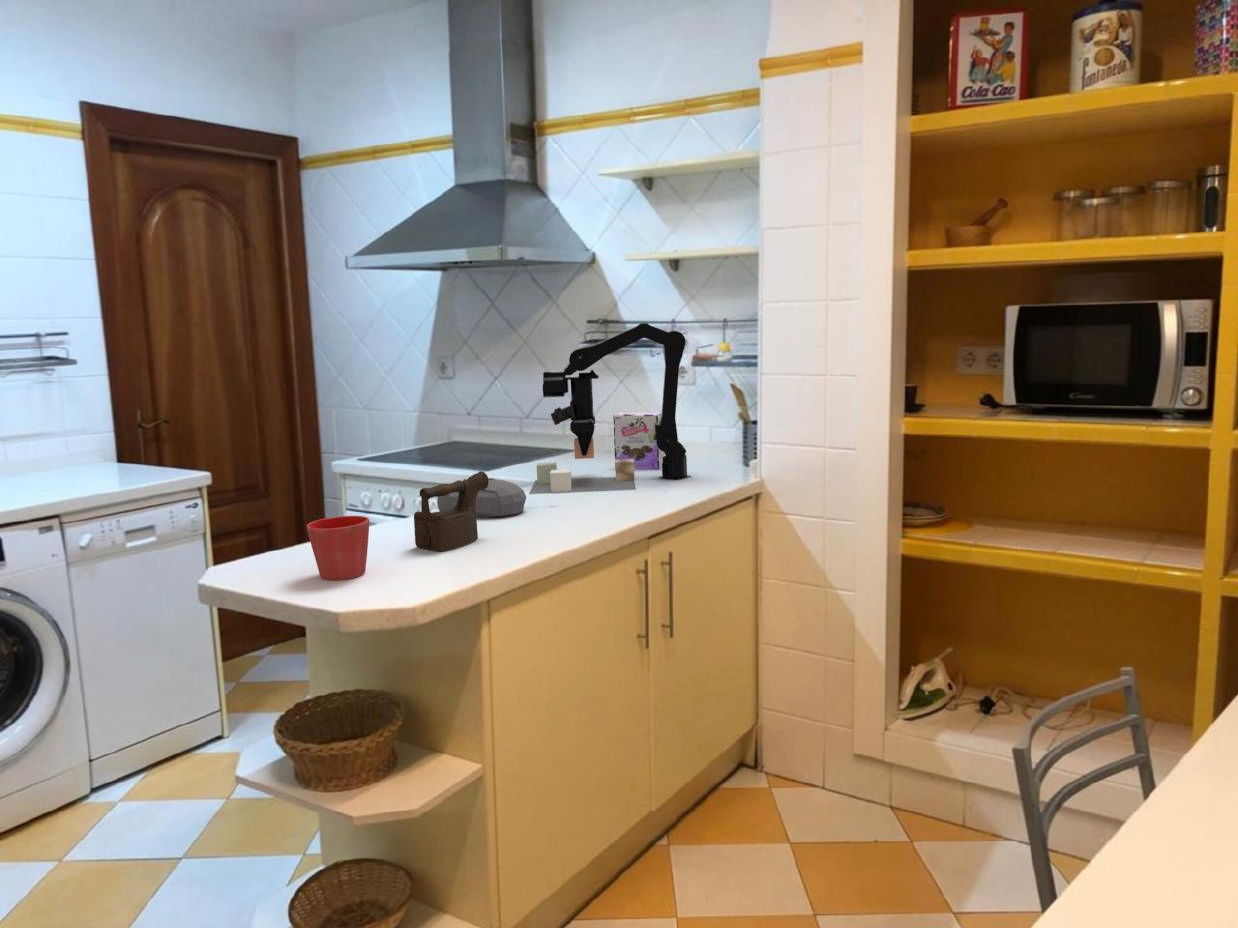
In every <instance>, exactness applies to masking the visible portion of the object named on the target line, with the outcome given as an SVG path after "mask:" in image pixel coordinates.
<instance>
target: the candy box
mask: <svg viewBox="0 0 1238 928" xmlns="http://www.w3.org/2000/svg"><path fill="white" fill-rule="evenodd" d="M661 415H662V412H618V413H614V414H613V441H614V443H613V444H614V448H613V449H614V461H615V460H624V459H634V470H643V471H644V470H649V471H652V470H653V471H660V470H662V463H663V458H662V457H664V456H666V455H665V453H664V452H663V451H661V450H660V449H659V448H658V446H657V444H656V440H654V438H653V436H654V433H655V426H654V423H659V422H660V419H661Z"/></svg>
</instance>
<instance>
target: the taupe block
mask: <svg viewBox="0 0 1238 928" xmlns="http://www.w3.org/2000/svg"><path fill="white" fill-rule="evenodd" d="M571 479H572V469H571V468H569V469H557V470H551V472H550V480H551V493H550V494H556V493H555V492H569V493H572V492H571V489H572V485H571Z"/></svg>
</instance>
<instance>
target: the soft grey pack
mask: <svg viewBox="0 0 1238 928" xmlns="http://www.w3.org/2000/svg"><path fill="white" fill-rule="evenodd" d="M466 480H467V479H466V478H465V479H463V480H462V481H464V482H465V481H466ZM488 480H489V482H488V487H487V488H486V489H485V490H480V491H479V492H478V494H477V496H476V502H475V511H476V517H488V518H496V517H497V518H498V517H507V516H512V515H515V514H520V513H522V512H523V511H524V509H525V503H526V500H527V496H526V493H525V490H524V489H523V488H521V487H520V486H519V485H518V484H516V483H513V482H510V481H507V480H504V479H496V478H491V477H490V478H489V477H488ZM458 497H459V492H453V493H450V494H448V495H445V496H439V497H437V498H436V499H437V502H436V504H437V508H438V510H439V511H445V510H450V509H452V508H454V507H455V506H456V504H457V501H458ZM439 511H438V512H439Z"/></svg>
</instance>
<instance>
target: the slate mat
mask: <svg viewBox="0 0 1238 928" xmlns="http://www.w3.org/2000/svg"><path fill="white" fill-rule="evenodd" d="M571 485H572V489H571V492H555V493H554V494H564V493H565V494H566V493H567V494H568V493H584V492H585V493H588V492H590V493H591V492H611V491H612V492H614V491H635V490H636V489H637V488H636V482H635V480H628V481H616V476H614V477H610V476H609V477H588V478H586V477H585V478H583V477H582V478H571ZM539 494H552V493H551V484H537V479H535V480H534V482H533V485H532V486H531V489H530V491H529V494H528V495H539Z"/></svg>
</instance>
